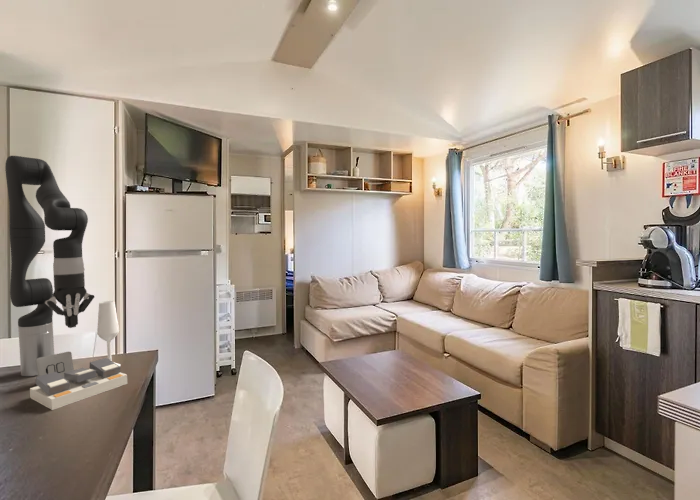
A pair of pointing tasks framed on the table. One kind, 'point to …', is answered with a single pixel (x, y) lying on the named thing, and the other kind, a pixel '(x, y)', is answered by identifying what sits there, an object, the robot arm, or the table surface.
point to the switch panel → (78, 390)
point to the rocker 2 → (105, 367)
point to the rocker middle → (80, 375)
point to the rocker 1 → (52, 383)
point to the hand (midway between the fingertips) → (71, 327)
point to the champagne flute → (107, 324)
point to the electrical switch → (55, 364)
